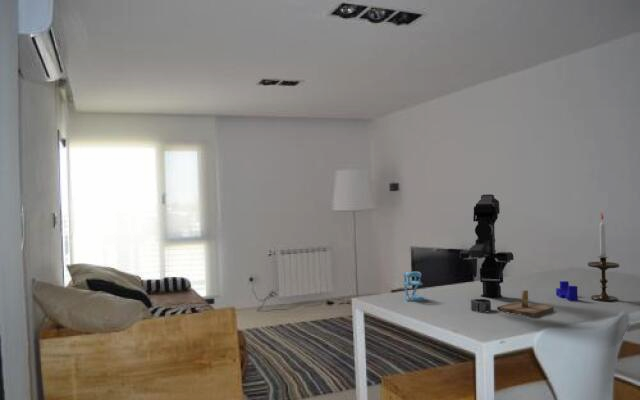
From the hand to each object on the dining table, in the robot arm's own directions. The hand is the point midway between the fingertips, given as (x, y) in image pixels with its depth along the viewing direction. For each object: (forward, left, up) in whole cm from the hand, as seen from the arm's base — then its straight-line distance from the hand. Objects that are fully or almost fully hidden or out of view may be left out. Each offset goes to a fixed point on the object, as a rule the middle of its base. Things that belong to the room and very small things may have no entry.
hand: (486, 278), depth 179 cm
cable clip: (+9, +42, -13) cm, 45 cm away
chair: (-33, -4, -12) cm, 36 cm away
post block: (+10, +9, -12) cm, 18 cm away
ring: (-2, -1, -12) cm, 12 cm away
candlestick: (+21, +49, -12) cm, 55 cm away
